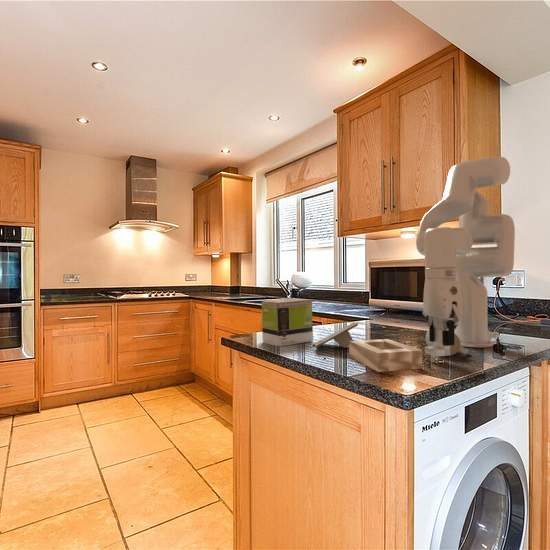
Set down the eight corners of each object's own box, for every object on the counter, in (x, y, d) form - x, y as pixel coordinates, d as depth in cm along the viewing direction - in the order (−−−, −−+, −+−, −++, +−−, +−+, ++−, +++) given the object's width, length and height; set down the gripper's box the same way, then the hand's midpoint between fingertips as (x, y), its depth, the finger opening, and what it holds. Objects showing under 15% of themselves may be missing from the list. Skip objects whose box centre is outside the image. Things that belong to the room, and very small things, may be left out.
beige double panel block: (334, 368, 105) (372, 334, 106) (314, 345, 107) (352, 311, 107) (330, 363, 121) (363, 333, 122) (312, 343, 123) (345, 314, 123)
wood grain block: (438, 351, 99) (438, 314, 98) (450, 355, 94) (449, 316, 94) (424, 352, 98) (424, 315, 97) (435, 356, 93) (434, 318, 93)
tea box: (295, 337, 134) (295, 297, 133) (313, 342, 125) (313, 299, 125) (261, 342, 125) (261, 299, 125) (277, 347, 117) (277, 301, 117)
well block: (387, 354, 105) (387, 339, 105) (422, 368, 90) (422, 350, 90) (349, 357, 102) (349, 341, 102) (378, 371, 87) (378, 353, 87)
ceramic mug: (436, 357, 102) (436, 329, 102) (424, 350, 110) (425, 325, 110) (474, 357, 101) (474, 330, 101) (460, 351, 110) (460, 326, 110)
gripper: (477, 275, 88) (478, 349, 89) (431, 273, 105) (433, 336, 105) (450, 276, 87) (452, 352, 87) (408, 274, 103) (410, 338, 104)
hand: (441, 342), depth 96 cm, fingers closed on wood grain block, 4 cm apart
